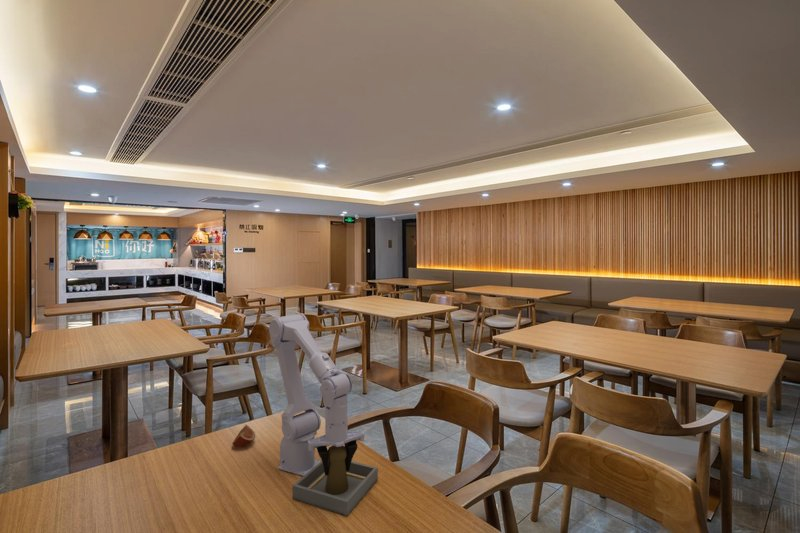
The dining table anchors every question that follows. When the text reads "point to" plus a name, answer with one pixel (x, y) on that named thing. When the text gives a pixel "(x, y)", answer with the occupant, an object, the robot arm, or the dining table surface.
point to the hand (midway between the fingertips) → (336, 471)
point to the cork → (337, 471)
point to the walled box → (315, 494)
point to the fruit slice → (244, 437)
